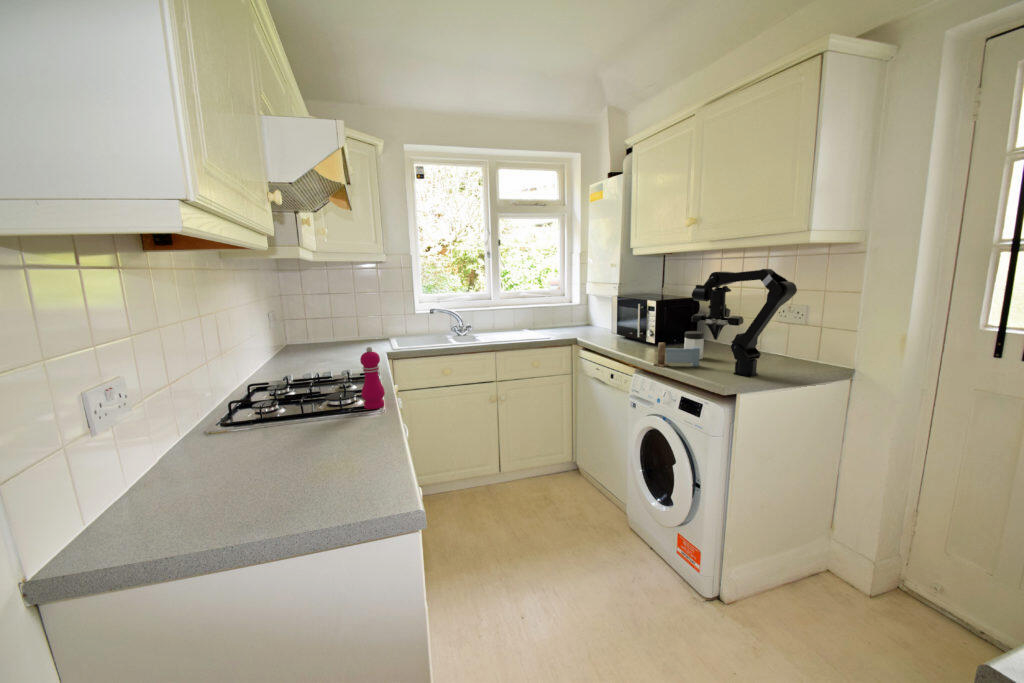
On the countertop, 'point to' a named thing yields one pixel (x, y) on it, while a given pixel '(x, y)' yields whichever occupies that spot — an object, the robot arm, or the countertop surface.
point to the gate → (683, 355)
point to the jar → (694, 341)
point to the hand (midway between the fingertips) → (715, 339)
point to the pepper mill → (372, 381)
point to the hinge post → (661, 355)
